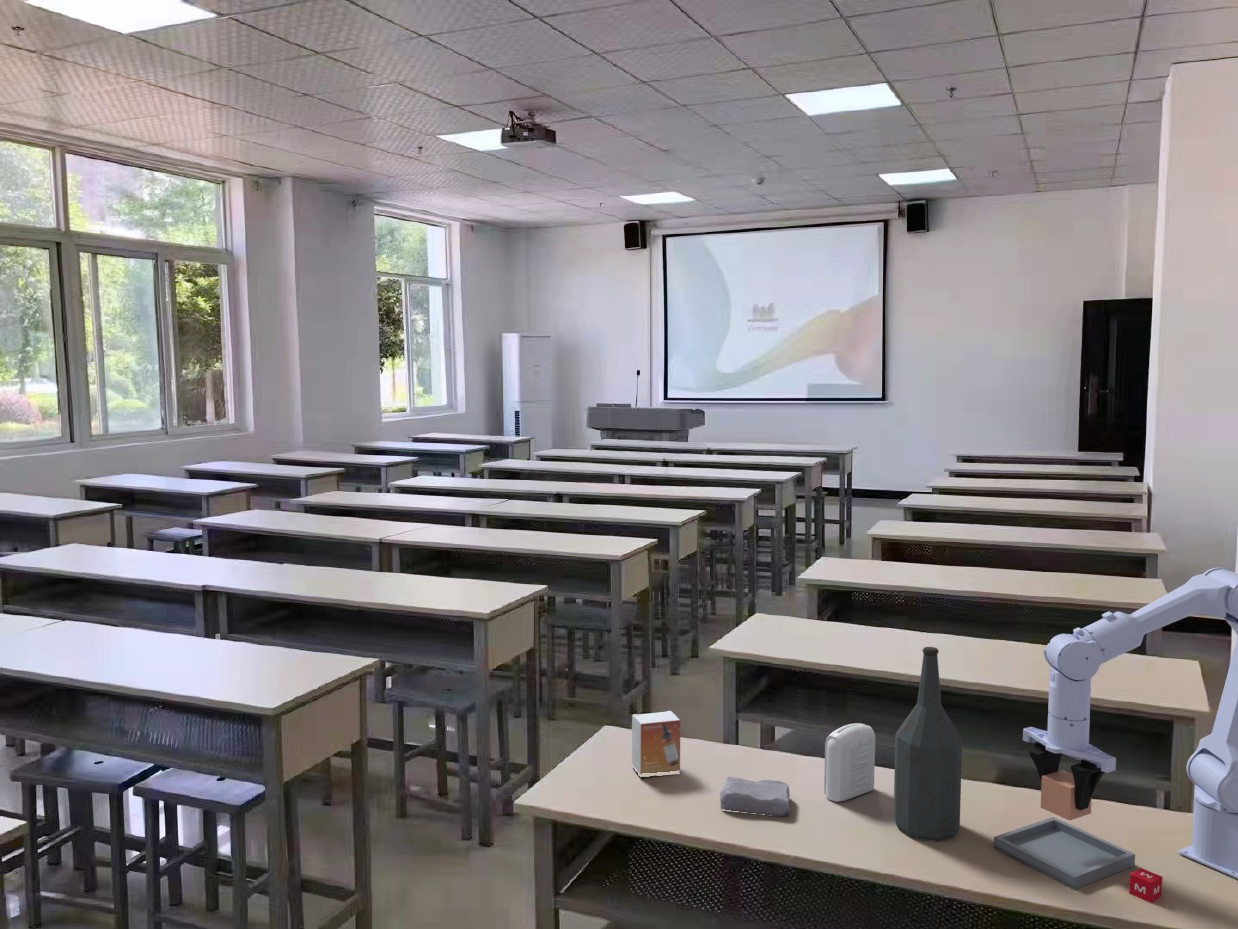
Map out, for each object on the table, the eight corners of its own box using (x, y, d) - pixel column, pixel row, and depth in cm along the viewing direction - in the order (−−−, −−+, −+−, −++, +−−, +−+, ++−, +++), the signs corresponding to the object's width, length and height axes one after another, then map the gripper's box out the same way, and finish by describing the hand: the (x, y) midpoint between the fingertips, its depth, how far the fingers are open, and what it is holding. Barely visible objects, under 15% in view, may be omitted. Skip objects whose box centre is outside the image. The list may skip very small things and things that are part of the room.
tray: (1134, 865, 142) (1135, 854, 142) (1074, 889, 135) (1074, 877, 135) (1052, 827, 154) (1053, 817, 154) (993, 848, 148) (993, 836, 148)
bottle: (949, 848, 148) (954, 660, 145) (887, 833, 153) (890, 651, 150) (964, 822, 156) (969, 644, 154) (905, 808, 161) (908, 636, 159)
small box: (639, 779, 174) (639, 724, 173) (631, 768, 179) (631, 713, 178) (681, 774, 176) (681, 719, 175) (671, 763, 181) (671, 709, 180)
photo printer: (858, 782, 172) (860, 716, 171) (877, 790, 169) (879, 723, 168) (820, 796, 166) (821, 728, 165) (839, 805, 163) (840, 735, 162)
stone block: (723, 800, 170) (717, 813, 160) (725, 772, 170) (719, 784, 161) (790, 808, 167) (789, 822, 157) (792, 780, 168) (790, 792, 158)
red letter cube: (1129, 894, 134) (1129, 874, 134) (1140, 888, 136) (1140, 867, 136) (1150, 903, 132) (1151, 883, 132) (1161, 897, 134) (1162, 876, 133)
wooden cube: (1090, 813, 144) (1092, 781, 144) (1069, 820, 142) (1070, 788, 141) (1061, 801, 148) (1063, 770, 148) (1040, 807, 146) (1041, 776, 146)
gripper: (1010, 704, 148) (1008, 788, 149) (1095, 734, 136) (1091, 826, 137) (1041, 697, 152) (1038, 779, 153) (1126, 726, 139) (1122, 815, 140)
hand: (1065, 801), depth 145 cm, fingers closed on wooden cube, 5 cm apart
